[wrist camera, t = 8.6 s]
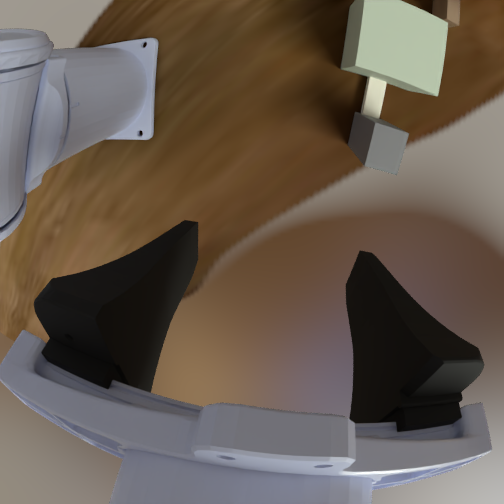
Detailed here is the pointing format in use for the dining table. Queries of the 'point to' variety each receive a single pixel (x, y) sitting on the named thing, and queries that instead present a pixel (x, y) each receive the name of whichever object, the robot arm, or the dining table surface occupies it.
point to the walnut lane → (447, 11)
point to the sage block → (390, 70)
